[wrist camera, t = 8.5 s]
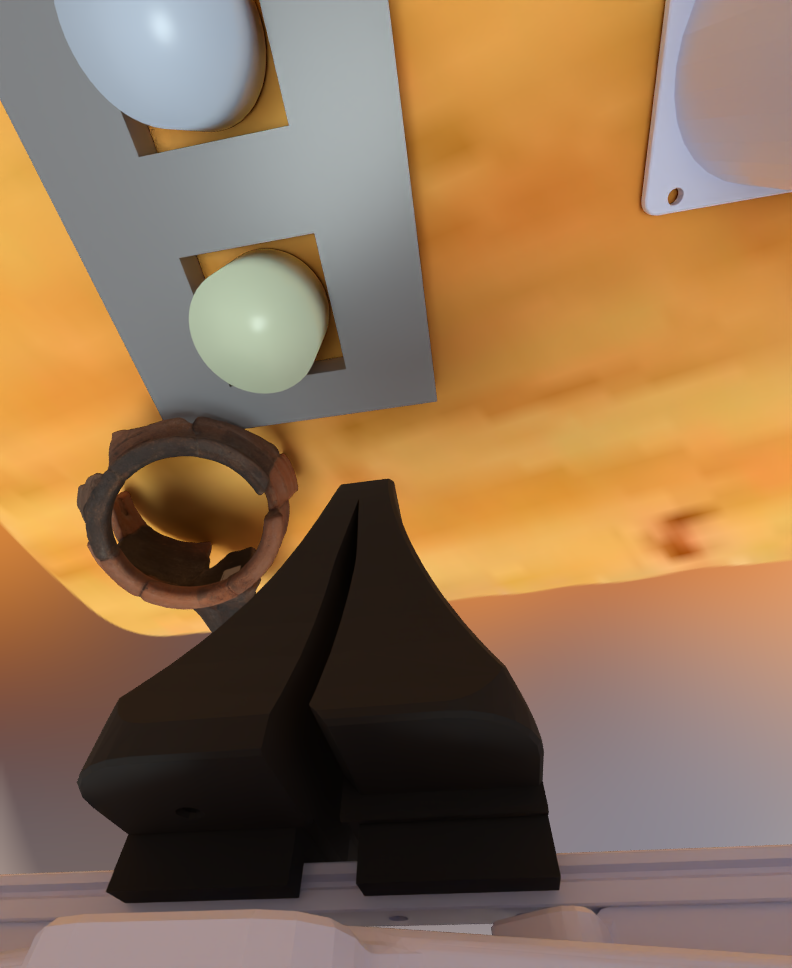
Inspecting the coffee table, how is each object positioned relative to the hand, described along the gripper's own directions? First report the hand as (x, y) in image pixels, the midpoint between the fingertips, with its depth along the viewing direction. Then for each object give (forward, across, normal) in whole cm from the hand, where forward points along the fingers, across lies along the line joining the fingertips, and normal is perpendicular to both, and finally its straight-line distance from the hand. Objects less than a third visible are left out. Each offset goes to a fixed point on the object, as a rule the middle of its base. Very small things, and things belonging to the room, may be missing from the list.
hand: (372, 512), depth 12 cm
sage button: (+10, +4, -3) cm, 11 cm away
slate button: (+10, +4, -11) cm, 15 cm away
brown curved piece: (+11, +10, +6) cm, 16 cm away
